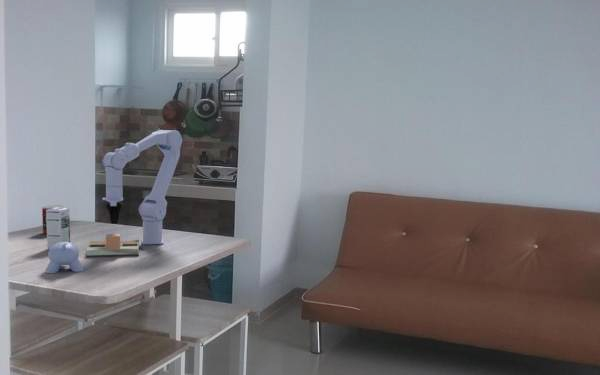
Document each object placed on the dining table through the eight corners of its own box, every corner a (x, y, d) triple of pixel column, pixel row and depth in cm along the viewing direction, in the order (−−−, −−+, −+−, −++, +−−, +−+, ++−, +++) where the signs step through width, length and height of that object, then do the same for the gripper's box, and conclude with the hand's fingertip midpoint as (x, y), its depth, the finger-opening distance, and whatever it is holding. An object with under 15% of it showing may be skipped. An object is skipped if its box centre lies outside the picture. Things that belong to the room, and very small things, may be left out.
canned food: (38, 233, 244) (38, 206, 242) (52, 230, 251) (51, 204, 250) (54, 235, 241) (54, 208, 240) (67, 232, 249) (67, 205, 248)
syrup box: (61, 250, 215) (60, 209, 213) (46, 249, 216) (45, 208, 214) (70, 247, 220) (70, 207, 219) (56, 246, 221) (55, 206, 220)
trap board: (90, 247, 220) (90, 240, 220) (138, 246, 225) (138, 239, 224) (86, 257, 205) (86, 249, 205) (138, 255, 209) (138, 248, 209)
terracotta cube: (106, 246, 210) (106, 234, 210) (120, 246, 211) (120, 233, 211) (106, 249, 206) (105, 236, 205) (119, 249, 207) (119, 236, 207)
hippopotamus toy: (82, 262, 197) (81, 233, 196) (84, 273, 184) (83, 242, 183) (46, 264, 193) (45, 235, 192) (45, 276, 180) (45, 244, 179)
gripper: (103, 183, 223) (104, 220, 224) (101, 188, 209) (101, 226, 210) (123, 183, 224) (123, 220, 226) (122, 188, 210) (122, 226, 212)
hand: (114, 223), depth 218 cm, fingers closed
